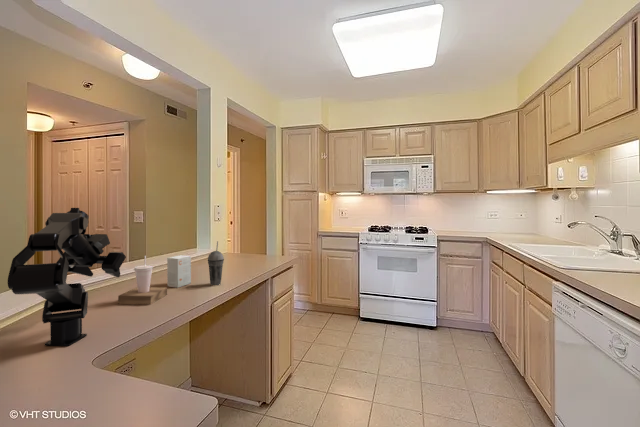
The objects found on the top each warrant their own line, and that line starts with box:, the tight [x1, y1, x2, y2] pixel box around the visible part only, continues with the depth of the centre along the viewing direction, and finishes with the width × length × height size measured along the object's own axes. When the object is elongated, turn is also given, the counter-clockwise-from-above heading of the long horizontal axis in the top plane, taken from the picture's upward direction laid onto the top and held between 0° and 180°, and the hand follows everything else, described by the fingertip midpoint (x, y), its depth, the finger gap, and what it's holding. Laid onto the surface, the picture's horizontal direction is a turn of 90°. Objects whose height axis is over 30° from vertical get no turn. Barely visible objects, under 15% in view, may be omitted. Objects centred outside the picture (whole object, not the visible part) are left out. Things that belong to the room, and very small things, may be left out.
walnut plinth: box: [117, 286, 168, 305], centre depth 118 cm, size 12×12×3 cm
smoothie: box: [133, 255, 154, 293], centre depth 117 cm, size 6×6×14 cm
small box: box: [166, 254, 192, 288], centre depth 138 cm, size 8×6×13 cm
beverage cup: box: [207, 241, 225, 286], centre depth 140 cm, size 7×7×20 cm
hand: (105, 275), depth 99 cm, fingers open, 9 cm apart
